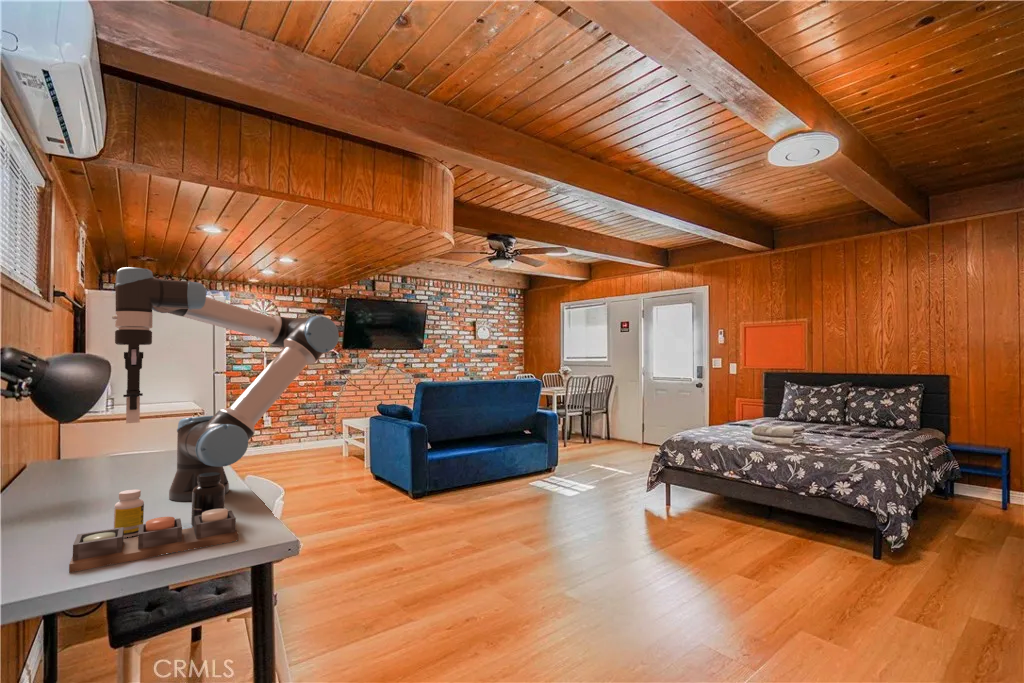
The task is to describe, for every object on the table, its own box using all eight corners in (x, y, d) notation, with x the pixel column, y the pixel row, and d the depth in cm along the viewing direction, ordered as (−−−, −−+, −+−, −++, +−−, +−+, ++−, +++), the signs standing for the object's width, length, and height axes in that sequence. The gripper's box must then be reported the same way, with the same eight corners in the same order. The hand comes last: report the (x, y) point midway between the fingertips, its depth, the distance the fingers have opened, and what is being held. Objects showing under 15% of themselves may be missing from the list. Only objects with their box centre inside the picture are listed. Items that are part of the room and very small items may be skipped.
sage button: (115, 542, 104) (116, 530, 104) (114, 549, 100) (114, 537, 100) (84, 547, 101) (84, 535, 101) (81, 555, 97) (81, 542, 97)
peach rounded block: (226, 517, 116) (226, 507, 116) (228, 523, 112) (229, 512, 112) (200, 521, 113) (201, 511, 113) (202, 527, 109) (202, 516, 109)
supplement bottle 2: (186, 529, 118) (187, 478, 118) (196, 521, 124) (197, 472, 125) (219, 527, 119) (220, 476, 120) (227, 518, 126) (228, 470, 127)
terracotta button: (173, 526, 110) (174, 515, 110) (174, 532, 106) (175, 520, 106) (145, 530, 107) (146, 519, 107) (145, 537, 103) (145, 525, 103)
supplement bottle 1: (145, 534, 115) (147, 491, 115) (116, 540, 111) (117, 495, 111) (140, 529, 118) (141, 487, 119) (110, 535, 114) (112, 491, 115)
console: (231, 527, 119) (231, 508, 119) (238, 540, 110) (238, 520, 110) (76, 554, 103) (76, 532, 103) (68, 572, 94) (69, 548, 94)
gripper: (115, 330, 130) (114, 421, 129) (114, 327, 120) (113, 426, 119) (151, 330, 135) (150, 418, 134) (153, 328, 124) (152, 423, 124)
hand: (132, 422), depth 127 cm, fingers closed
